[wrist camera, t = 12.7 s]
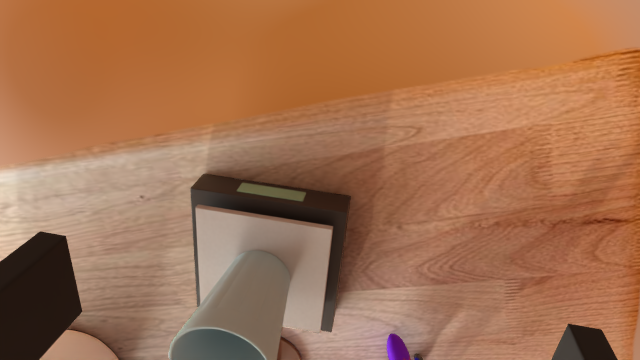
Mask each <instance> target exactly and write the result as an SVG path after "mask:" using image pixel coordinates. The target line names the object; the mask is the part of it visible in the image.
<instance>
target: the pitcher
mask: <svg viewBox="0 0 640 360" xmlns="http://www.w3.org/2000/svg"><path fill="white" fill-rule="evenodd" d="M39 360H118V358H117V356H116V355H115V354H114V353H113V352H112V350H111V349H110V348H108V347H107V346H106V345H105V344H104V343H103V342H101V341H100V340H98V339H97V338H95V337H93V336H90V335H88V334H85V333H82V332H79V331H73V330H65V332H64V333H63V334H62V335H61V336H60V337H59V338H58V339H57V340H56V342H55V343H54V344H53V345H52V346H51V347H50V348H49V349H48V351H47V352H46V353H45V354H44V355H43V356H42V357H41V358H40V359H39Z"/></svg>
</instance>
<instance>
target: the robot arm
mask: <svg viewBox="0 0 640 360" xmlns="http://www.w3.org/2000/svg"><path fill="white" fill-rule="evenodd" d="M81 313H82V308H81V303H80V299H79V294H78V290H77V285H76V280H75V276H74V271H73V267H72V262H71V258H70V253H69V249H68V244H67V239H66V236H63V235H57V234H51V233H45V232H39V233H37V234H36V235H35V236H34V237H32V238H31V239H30V240H28V241H27V242H26V243H24V244H23V245H22V246H20V247H19V248H18V249H17V250H15V251H14V252H13V253H11V254H10V255H9V256H7V257H6V258H5V259H3V260H2V261H1V262H0V360H39V359H40V358H41V357H42V356H43V355H44V354H45V353H46V352H47V351H48V349H49V348H50V347H51V346H52V345H53V344H54V343H55V342H56V340H57V339H58V338H59V337H60V336H61V335H62V334H63V333H64V332H65V330H66V329H67V328H68V327H69V326H70V325H71V324H72V323H73V322H74V320H75V319H76V318H77V317H78V316H79V315H80V314H81ZM552 360H618V359H617V358H616V356H615V354H614V352H613V350H612V348H611V346H610V345H609V343H608V341H607V339H606V337H605V335H604V333H603V331H602V330H601V329H595V328H589V327H584V326H578V325H572V324H568V325H567V327H566V330H565V332H564V334H563V336H562V338H561V340H560V342H559V345H558V347H557V349H556V351H555V353H554V355H553V358H552Z"/></svg>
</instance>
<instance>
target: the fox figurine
mask: <svg viewBox="0 0 640 360" xmlns="http://www.w3.org/2000/svg"><path fill="white" fill-rule="evenodd" d="M387 352H388V358H389V360H411V359H410V355H409V352H408V350H407V348H406V346H405V344H404V342H403V340H402V339H401V338H400V337H399V336H398V335H396V334H390V335H389V337H388V341H387ZM414 358H415V360H423V358H422V357H421V356H420V355H419V354H415V356H414Z"/></svg>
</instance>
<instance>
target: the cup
mask: <svg viewBox="0 0 640 360" xmlns="http://www.w3.org/2000/svg"><path fill="white" fill-rule="evenodd" d="M289 285H290V275H289V272H288V269H287V268H286V266H285V264H284V263H283V262H282V261H281V260H280V259H279V258H277V257H276V256H274V255H272V254H270V253H267V252H264V251H259V250H254V251H247V252H244V253H242V254H241V255H239V256H238V257H237V258H236V259H235V260H234V261H233V262H232V264H231V265H230V266H229V268H228V269H227V270H226V271H225V273H224V274H223V275H222V277H221V278H220V279H219V281H218V282H217V283H216V284H215V286H214V287H213V288H212V290H211V291H210V292H209V294H208V295H207V296H206V297H205V299H204V300H203V301H202V303H201V304H200V305H199V307H198V308H197V309H196V311H195V312H194V313H193V314H192V316H191V317H190V318H189V319H188V321H187V322H186V323H185V325H184V326H183V327H182V328H181V330H180V331H179V332H178V334H177V335H176V336H175V337H174V339H173V340H172V342H171V344H170V347H169V360H277V354H278V348H279V343H280V337H281V331H282V325H283V320H284V314H285V308H286V303H287V297H288V291H289Z"/></svg>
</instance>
